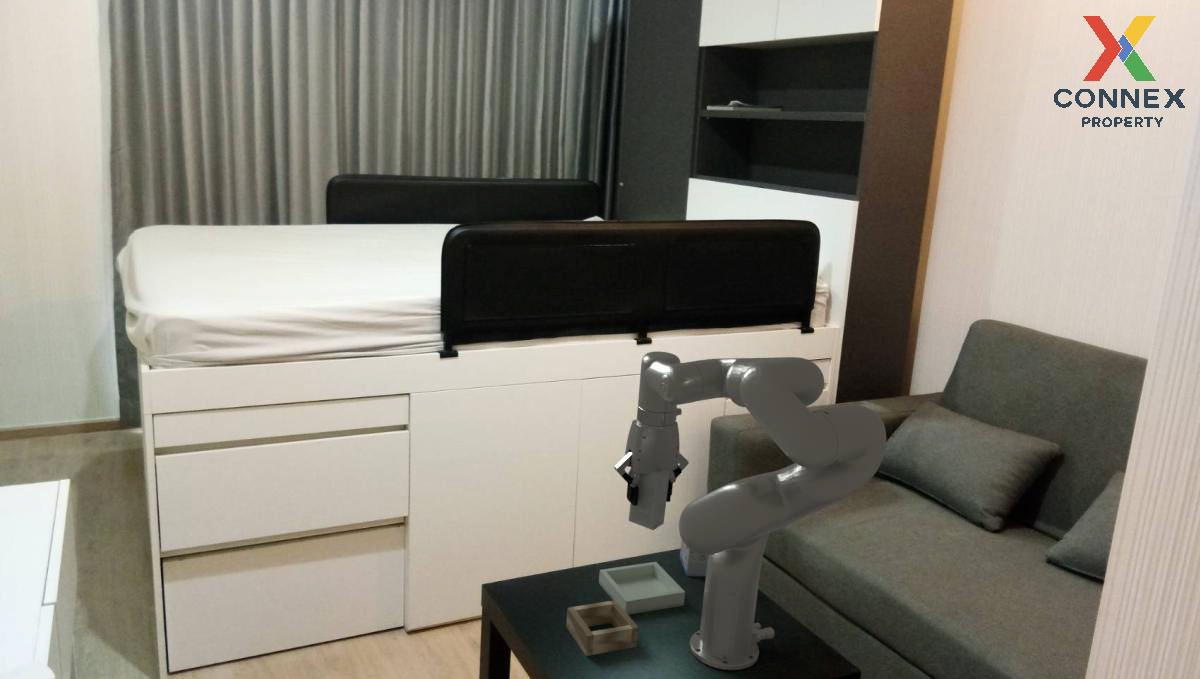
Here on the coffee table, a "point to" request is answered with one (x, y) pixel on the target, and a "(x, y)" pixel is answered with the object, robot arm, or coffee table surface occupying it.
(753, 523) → the robot arm
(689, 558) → the medicine box
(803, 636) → the coffee table surface
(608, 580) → the tray
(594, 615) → the collar
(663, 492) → the skincare box
